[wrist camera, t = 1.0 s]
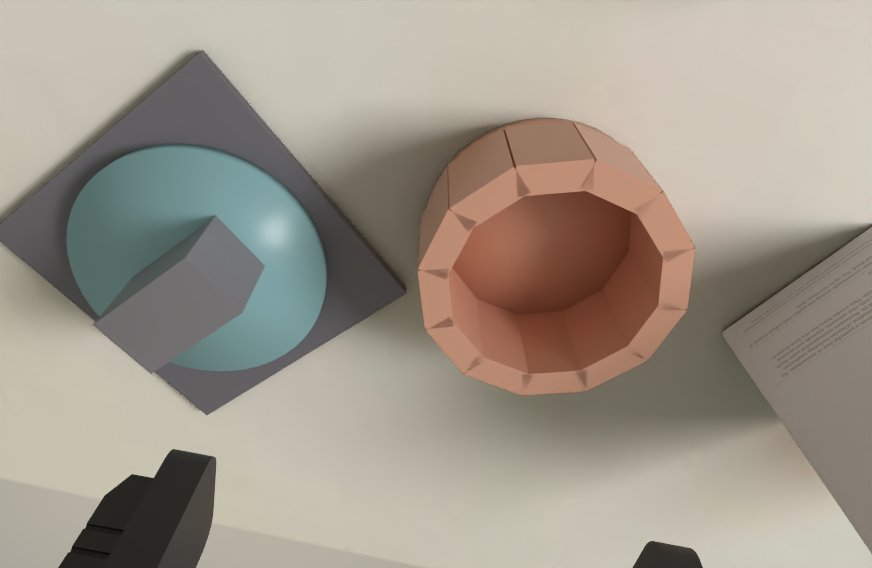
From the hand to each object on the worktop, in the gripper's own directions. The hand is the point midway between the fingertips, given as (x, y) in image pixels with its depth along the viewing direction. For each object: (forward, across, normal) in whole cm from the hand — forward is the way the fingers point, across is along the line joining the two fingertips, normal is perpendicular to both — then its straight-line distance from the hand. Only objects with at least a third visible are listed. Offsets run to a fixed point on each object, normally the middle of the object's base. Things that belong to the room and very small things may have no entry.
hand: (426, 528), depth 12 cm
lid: (+19, +11, +7) cm, 23 cm away
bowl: (+20, -5, +2) cm, 20 cm away
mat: (+19, +11, +7) cm, 23 cm away
